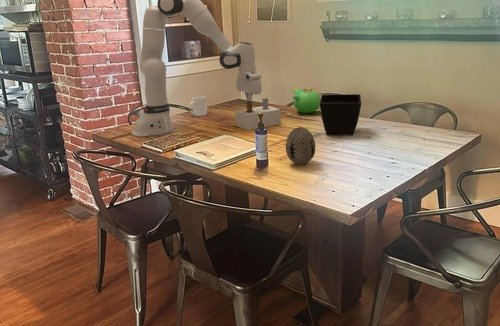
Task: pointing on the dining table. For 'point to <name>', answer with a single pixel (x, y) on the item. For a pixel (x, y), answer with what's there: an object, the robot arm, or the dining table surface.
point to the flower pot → (340, 113)
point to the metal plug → (265, 103)
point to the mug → (199, 106)
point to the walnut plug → (249, 106)
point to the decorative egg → (300, 146)
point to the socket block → (251, 119)
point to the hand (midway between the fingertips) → (249, 100)
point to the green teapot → (306, 100)
